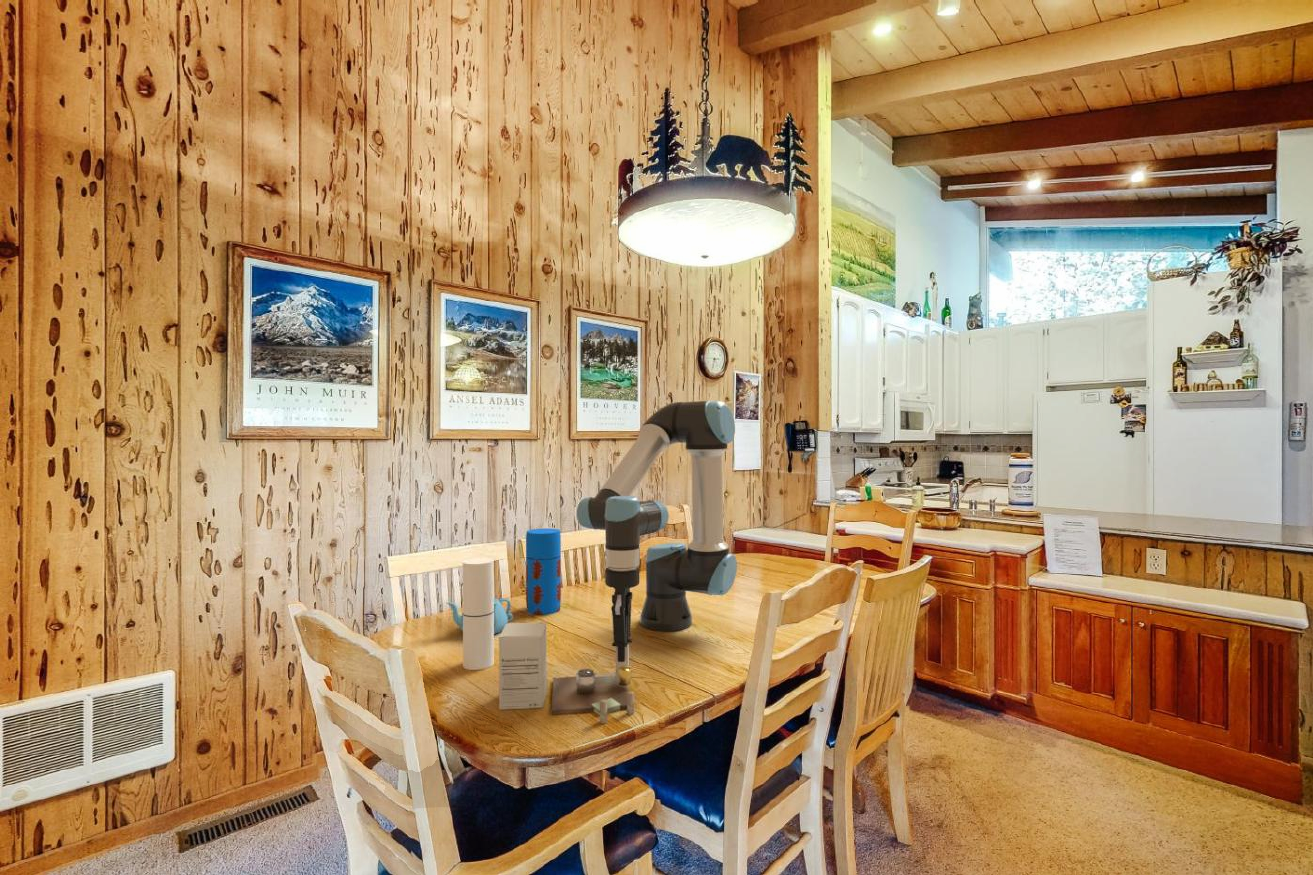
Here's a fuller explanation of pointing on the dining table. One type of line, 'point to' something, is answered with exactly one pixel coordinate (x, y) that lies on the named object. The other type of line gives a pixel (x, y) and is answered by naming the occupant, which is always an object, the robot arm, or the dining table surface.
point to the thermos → (543, 571)
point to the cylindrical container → (478, 613)
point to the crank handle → (601, 679)
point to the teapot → (499, 615)
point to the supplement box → (522, 666)
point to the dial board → (590, 698)
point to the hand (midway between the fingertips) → (622, 674)
